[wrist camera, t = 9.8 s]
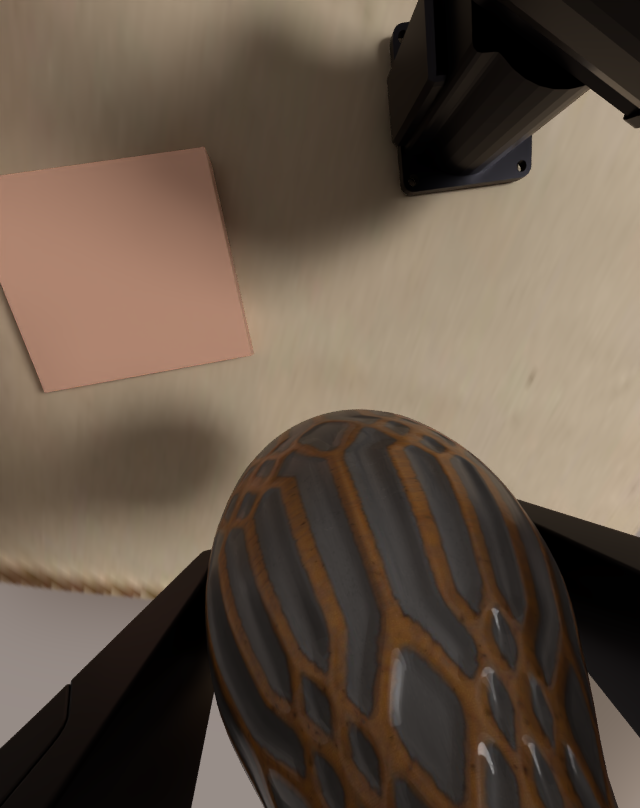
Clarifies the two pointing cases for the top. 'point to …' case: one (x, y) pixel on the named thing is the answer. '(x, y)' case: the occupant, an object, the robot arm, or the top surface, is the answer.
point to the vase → (395, 629)
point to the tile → (120, 268)
